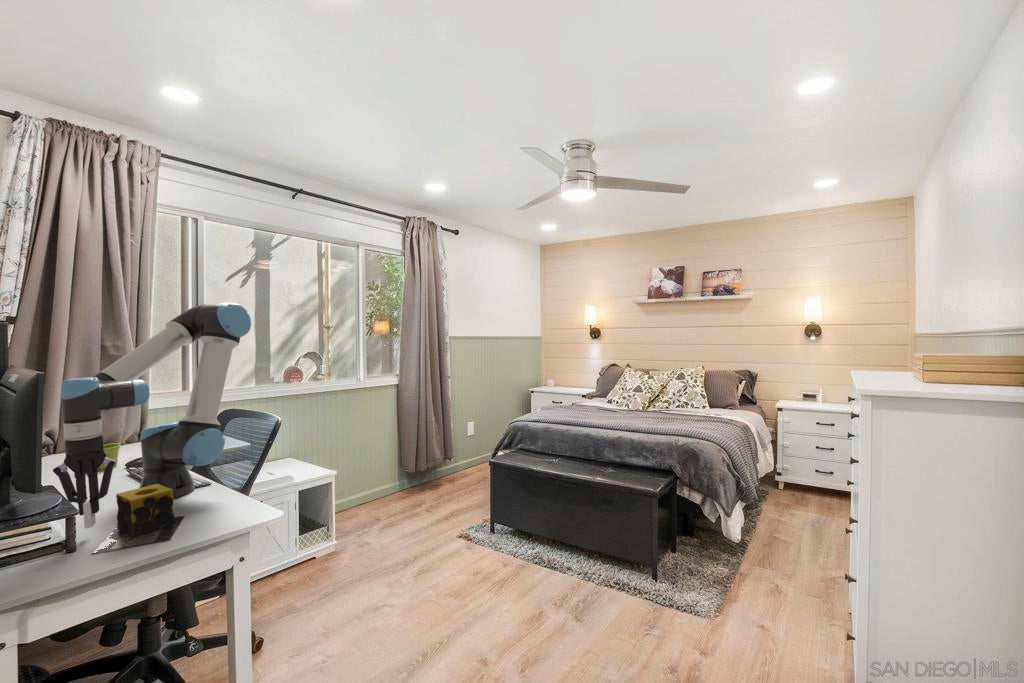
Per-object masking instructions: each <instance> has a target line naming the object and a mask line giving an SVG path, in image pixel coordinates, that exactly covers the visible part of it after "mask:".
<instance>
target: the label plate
mask: <svg viewBox="0 0 1024 683" xmlns="http://www.w3.org/2000/svg"><path fill="white" fill-rule="evenodd" d="M185 517H186V515H180V516H174V521H175V523H174V524H173V525H170V526H166V527H163V528H161V529H158V530H155V531H152V532H148V533H145V534H142V535H139V536H136V537H131V536H129V535H127V534H125V533H123V532H121V531H119V530H118V528H117V526H116V527H115V528H117V529H115V528H114V529H113V530H112V531H111V532H113V533H114V534H112V535H110V536H111V537H109V538H110V539H111V538H112V539H114V540H117V542H116V541H115V542H113V543H112V542H110V543H111V545H110V544H109V546H107V547H108V548H107V547H106V546H105V547H106V548H104V549H100V550H97V551H98V552H96V553H97V554H102V553H108V552H114V551H119V550H124V549H125V550H127V549H129V548H136V547H140V546H141V547H142V546H147V545H153V544H158V543H165V542H169V541H171V539H172V537H174V534H175V533H176V532H177V530H178V528H179V527H180V525H181V523H182V522H183V521H184V519H185Z"/></svg>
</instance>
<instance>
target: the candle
mask: <svg viewBox="0 0 1024 683" xmlns="http://www.w3.org/2000/svg"><path fill="white" fill-rule="evenodd" d="M115 499H116V504H117V514H116V521H117V522H116V523H117V524H116V525H117V526H116V527H117V528H118V530H119V531H121V532H123V533H125V534H127V535H129V536H131V537H136V536H139V535H142V534H145V533H148V532H152V531H155V530H158V529H161V528H163V527H166V526H170V525H173V524H174V523H175V521H174V517H175V512H174V498H173V489H171V488H167V487H165V486H162V485H160V484H154V485H150V486H146V487H142V488H134V489H130V490H127V491H123V492H118V493H116V494H115Z"/></svg>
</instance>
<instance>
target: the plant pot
mask: <svg viewBox="0 0 1024 683" xmlns="http://www.w3.org/2000/svg"><path fill="white" fill-rule="evenodd" d="M103 446H104V453H105V454H106V456H107V458H110V459H112V460H113V459H117V460H119V458H118V457H119V451H120V446H121V443H118V442H117V443H116V442H115V443H106V444H103ZM117 465H118V462H117V463H116V464H115V466H114V467H113V468H116V467H117ZM105 468H106V467H105V466H104V462H103V463H102V464H101V466H100V467H99V468H98V471H100V470H103V471H104V470H105Z"/></svg>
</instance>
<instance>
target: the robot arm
mask: <svg viewBox="0 0 1024 683" xmlns="http://www.w3.org/2000/svg"><path fill="white" fill-rule="evenodd" d="M251 327H252V320H251V315H250V314H249V313H248V310H247V309H246V308H245V307H244V306H242V305H241V304H239V303H236V302H223V303H222V302H220V303H209V304H208V303H204V304H198V305H195V306H194V307H191V308H189V309H187V310H186V311H184V312H182V313H180V314H179V315H177V316H176V317H174V318H172V319H171V320H170V321H168V322H167V323H165V328H163V329H162V330H160V331H159V332H157V333H156V334H154V335H153V336H152V337H150V338H149V339H147V340H146V341H144V342H143V343H142V344H139V345H138V346H137V347H136V348H134V349H132V350H131V351H129V352H128V353H126V354H125V355H123V356H122V357H120V358H119V359H117V360H116V361H114V362H113V363H112V364H110V365H108V366H107V367H106V368H103V370H101V371H99V372H98V373H97V374H94V375H93V376H89V377H77V378H76V377H74V378H68V379H64V380H63V381H62V382H61V384H60V386H61V387H60V400H61V411H62V420H63V438H65V441H64V452H65V458H64V460H63V463H61V464H59V465H58V466H55V467H54V468H53V469H52V472H53V473H54V474H55V475H56V477H58V479H59V481H60V484H61V487H62V489H63V492H64V494H65V496H66V498H67V501H68V502H69V503H75V504H77V506H78V507H77V508H78V514H79V516H83V524H84V529H88V528H89V529H90V528H93V527H94V526H95V525H96V524H97V521H96V520H97V519H96V514H97V513H98V512H100V499H103V498H104V497H105V496H107V495H108V492H109V488H110V483H111V480H112V475H113V470H114V468H115V467H114V466H115V464H116V463H117V464H118V459H113V460H112V459H110V458H107V456H106V454H105V453H104V446H103V445H104V436H102V434H103V423H102V422H103V421H102V412H106V411H111V410H118V409H124V408H131V407H133V408H134V407H137V406H140V405H141V406H142V405H144V404H145V403H147V402H148V400H149V399H150V396H151V395H150V387H149V385H148V383H147V382H146V381H145V380H143V379H139V378H140V377H141V376H143V375H144V374H146V373H147V372H149V371H150V370H151V369H152V368H154V367H155V366H157V365H159V363H161V362H162V361H163V360H165V359H166V358H167V357H169V356H170V355H172V354H173V353H174V352H176V351H177V350H178V349H180V348H182V347H183V346H190V345H191V344H192V343H194V342H195V341H198V340H201V343H203V344H202V345H203V346H202V350H201V354H200V358H199V362H198V365H197V371H196V374H195V377H194V381H193V386H192V390H191V393H190V398H189V402H188V406H187V411H186V413H185V414H186V415H185V416H184V417H181V419H179V420H178V421H173V422H169V423H167V422H166V423H162V424H158V425H152V426H148V427H145V428H143V429H142V430H141V432H140V445H141V459H142V472H143V476H142V478H141V482H140V485H139V488H142V487H146V486H150V485H154V484H160V485H162V486H165V487H167V488H171V489H173V499H175V498H179V497H183V496H184V495H187V494H190V493H192V491H194V490H195V482H194V481H195V480H194V479H193V477H192V475H191V473H190V471H189V469H188V467H187V466H191V467H198V466H201V467H202V466H207V465H209V464H211V463H213V462H214V461H216V460H217V459H218V458H219V457H220V455H222V453H223V451H224V447H225V443H226V439H225V437H224V434H223V432H222V431H221V430H220V429H221V423H220V422H219V420H218V414H219V409H220V406H221V400H222V398H223V392H224V388H225V385H226V380H227V374H228V370H229V366H230V362H231V358H232V355H233V354H232V353H233V350H234V349H235V348H236V347H238V346H239V345H240V340H241V338H242V337H245V336H246V335H247V334H248V333H249V332H250V330H251ZM103 462H104V466H105V467H106V468H105V469H104V470H103V474H102V478H101V483H100V488H99V474H98V473H99V469H98V468H99V467H100V466H101V464H102V463H103ZM68 469H69V470H70V471H72V472H73V473H74V478H75V485H74V483H73V480H72V478H71V475H70V473H69V472H68ZM86 476H87V478H88V479H87V480H88V492H89V497H88V496H87V495H88V494H87V493H88V492H87V480H86Z"/></svg>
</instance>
